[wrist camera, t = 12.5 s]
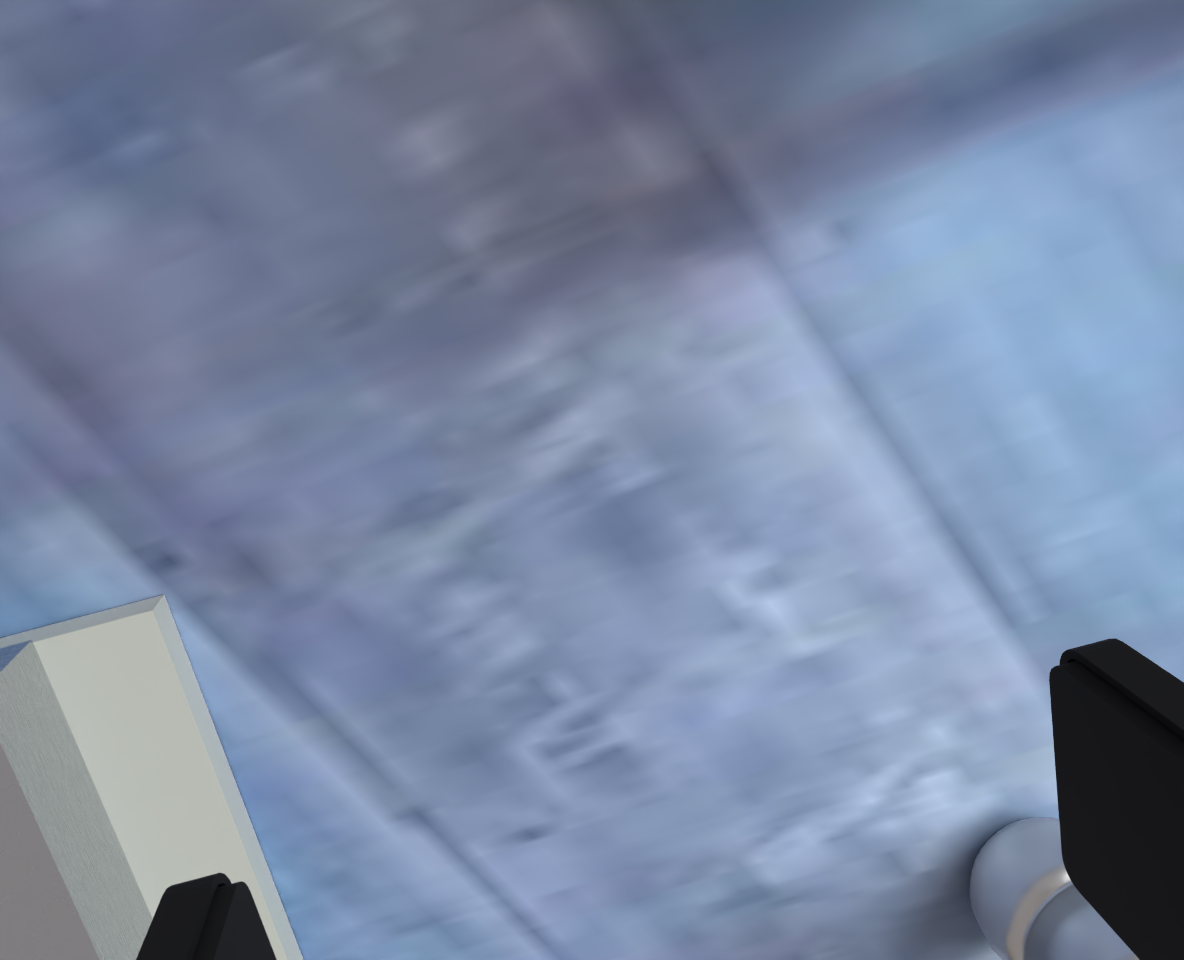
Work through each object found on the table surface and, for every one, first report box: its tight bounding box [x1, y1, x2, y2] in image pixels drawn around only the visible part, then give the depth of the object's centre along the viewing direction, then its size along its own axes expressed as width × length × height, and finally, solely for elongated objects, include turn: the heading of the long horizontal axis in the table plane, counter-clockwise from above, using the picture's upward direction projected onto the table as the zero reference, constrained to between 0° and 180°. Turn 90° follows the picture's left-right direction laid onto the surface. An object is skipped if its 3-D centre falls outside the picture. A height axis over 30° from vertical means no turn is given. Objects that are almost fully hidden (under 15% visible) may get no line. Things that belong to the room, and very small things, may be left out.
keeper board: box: [0, 595, 303, 960], centre depth 32 cm, size 16×14×8 cm
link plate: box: [0, 640, 152, 960], centre depth 33 cm, size 16×6×4 cm, turn 13°
